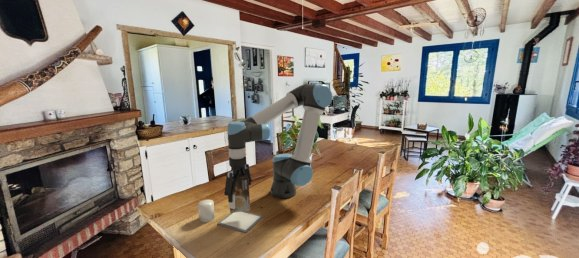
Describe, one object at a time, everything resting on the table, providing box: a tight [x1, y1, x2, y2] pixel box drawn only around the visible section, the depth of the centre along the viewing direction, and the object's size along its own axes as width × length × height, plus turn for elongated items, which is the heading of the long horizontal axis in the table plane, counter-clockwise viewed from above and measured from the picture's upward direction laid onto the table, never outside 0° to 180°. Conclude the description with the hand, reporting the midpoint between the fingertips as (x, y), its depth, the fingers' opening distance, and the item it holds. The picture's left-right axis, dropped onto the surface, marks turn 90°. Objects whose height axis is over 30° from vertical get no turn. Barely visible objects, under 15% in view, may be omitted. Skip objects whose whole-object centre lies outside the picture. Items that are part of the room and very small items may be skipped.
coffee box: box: [229, 173, 251, 214], centre depth 113 cm, size 9×6×16 cm
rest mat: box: [217, 211, 264, 234], centre depth 116 cm, size 14×16×1 cm
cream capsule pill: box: [197, 199, 216, 224], centre depth 117 cm, size 7×7×8 cm
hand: (239, 202), depth 114 cm, fingers closed on coffee box, 10 cm apart
